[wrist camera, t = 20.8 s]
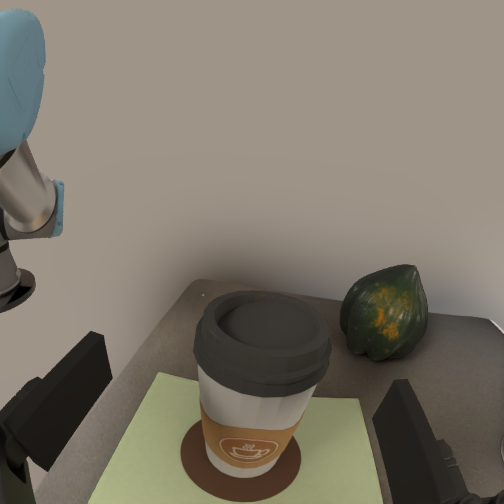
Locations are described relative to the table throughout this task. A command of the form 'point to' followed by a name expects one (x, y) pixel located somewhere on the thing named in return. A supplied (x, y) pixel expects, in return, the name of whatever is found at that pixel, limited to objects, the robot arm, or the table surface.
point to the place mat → (228, 487)
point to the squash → (385, 313)
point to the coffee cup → (256, 376)
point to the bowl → (502, 449)
